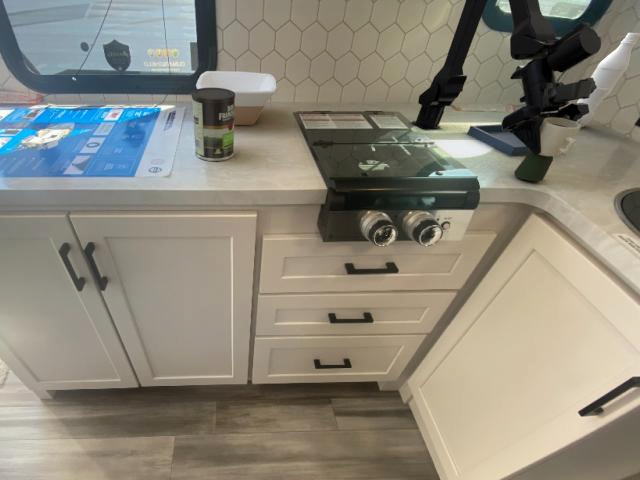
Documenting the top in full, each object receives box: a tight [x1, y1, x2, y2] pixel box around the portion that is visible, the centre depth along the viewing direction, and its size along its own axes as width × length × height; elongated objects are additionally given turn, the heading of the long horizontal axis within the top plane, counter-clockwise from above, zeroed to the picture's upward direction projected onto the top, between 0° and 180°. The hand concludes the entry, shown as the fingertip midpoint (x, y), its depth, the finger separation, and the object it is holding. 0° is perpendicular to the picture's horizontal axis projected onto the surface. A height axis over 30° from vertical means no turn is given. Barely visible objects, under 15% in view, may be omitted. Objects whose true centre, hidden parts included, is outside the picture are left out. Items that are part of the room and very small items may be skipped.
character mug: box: [513, 117, 582, 182], centre depth 81 cm, size 11×7×13 cm, turn 8°
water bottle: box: [576, 32, 640, 128], centre depth 109 cm, size 7×7×25 cm
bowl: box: [195, 70, 278, 126], centre depth 107 cm, size 24×25×11 cm
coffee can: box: [190, 88, 235, 162], centre depth 85 cm, size 10×10×14 cm
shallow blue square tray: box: [466, 123, 531, 157], centre depth 103 cm, size 18×18×2 cm
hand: (550, 152), depth 79 cm, fingers closed on character mug, 7 cm apart
